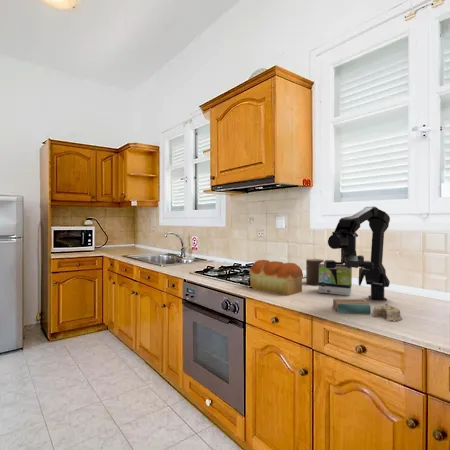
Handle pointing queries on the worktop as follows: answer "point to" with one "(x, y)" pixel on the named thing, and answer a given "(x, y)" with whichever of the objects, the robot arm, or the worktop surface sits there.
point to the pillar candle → (312, 271)
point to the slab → (351, 306)
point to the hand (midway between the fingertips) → (348, 285)
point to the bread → (276, 277)
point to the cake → (387, 312)
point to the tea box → (328, 281)
